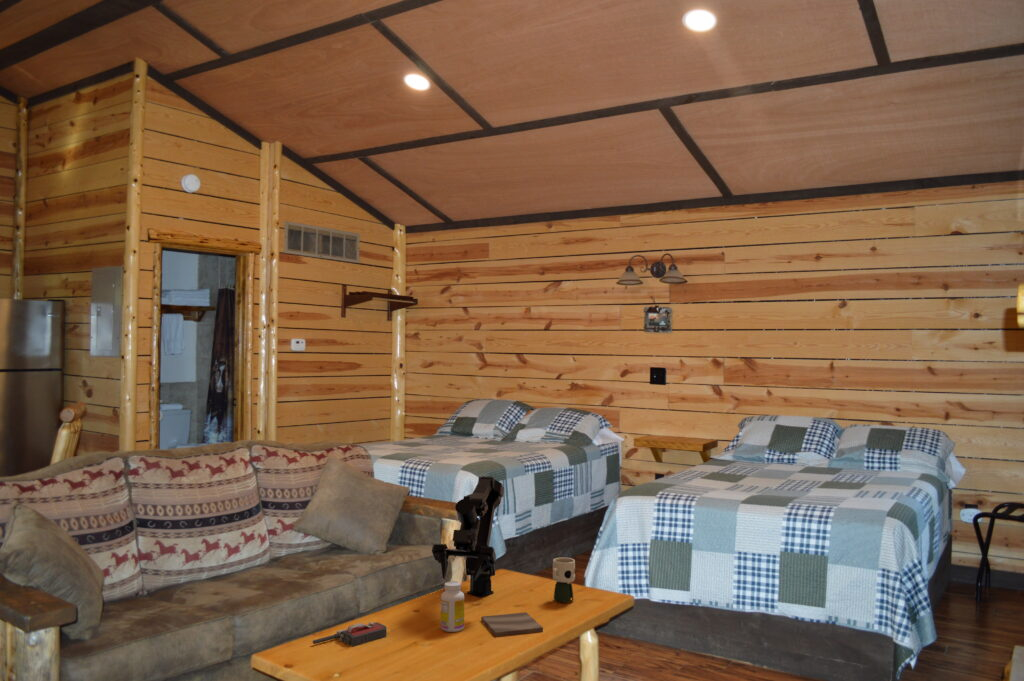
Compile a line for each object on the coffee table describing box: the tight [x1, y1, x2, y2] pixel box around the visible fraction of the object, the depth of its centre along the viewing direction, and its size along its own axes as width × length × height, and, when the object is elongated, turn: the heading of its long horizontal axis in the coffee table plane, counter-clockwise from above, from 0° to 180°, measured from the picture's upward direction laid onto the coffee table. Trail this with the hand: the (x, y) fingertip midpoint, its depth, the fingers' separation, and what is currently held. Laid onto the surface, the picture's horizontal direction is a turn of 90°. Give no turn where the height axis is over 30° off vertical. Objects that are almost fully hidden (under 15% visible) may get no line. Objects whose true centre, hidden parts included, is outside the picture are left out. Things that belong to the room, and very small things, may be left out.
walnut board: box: [480, 611, 544, 638], centre depth 229 cm, size 14×14×1 cm
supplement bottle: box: [440, 580, 465, 633], centre depth 227 cm, size 7×7×13 cm
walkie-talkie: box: [312, 621, 387, 647], centre depth 217 cm, size 9×4×20 cm
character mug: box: [552, 556, 576, 603], centre depth 254 cm, size 11×7×13 cm, turn 140°
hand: (458, 579), depth 233 cm, fingers open, 9 cm apart
